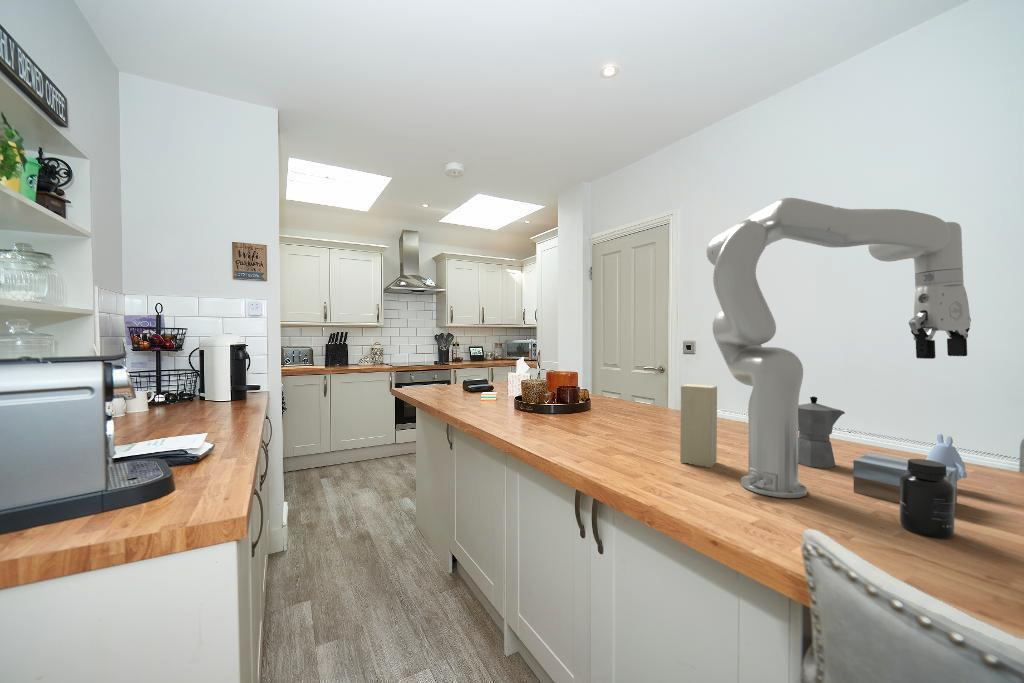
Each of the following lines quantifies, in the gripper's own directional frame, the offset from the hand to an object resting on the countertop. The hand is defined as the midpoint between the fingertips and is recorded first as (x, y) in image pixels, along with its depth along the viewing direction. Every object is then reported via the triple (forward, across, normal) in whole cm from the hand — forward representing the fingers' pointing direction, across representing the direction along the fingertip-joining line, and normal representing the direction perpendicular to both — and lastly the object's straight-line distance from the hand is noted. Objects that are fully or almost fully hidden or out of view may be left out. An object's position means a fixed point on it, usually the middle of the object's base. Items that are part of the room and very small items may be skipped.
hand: (941, 357), depth 93 cm
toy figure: (+30, 0, 0) cm, 30 cm away
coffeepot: (+29, -11, +24) cm, 39 cm away
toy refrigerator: (+28, -39, +32) cm, 57 cm away
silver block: (+29, -15, -1) cm, 32 cm away
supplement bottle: (+29, -28, -13) cm, 43 cm away
